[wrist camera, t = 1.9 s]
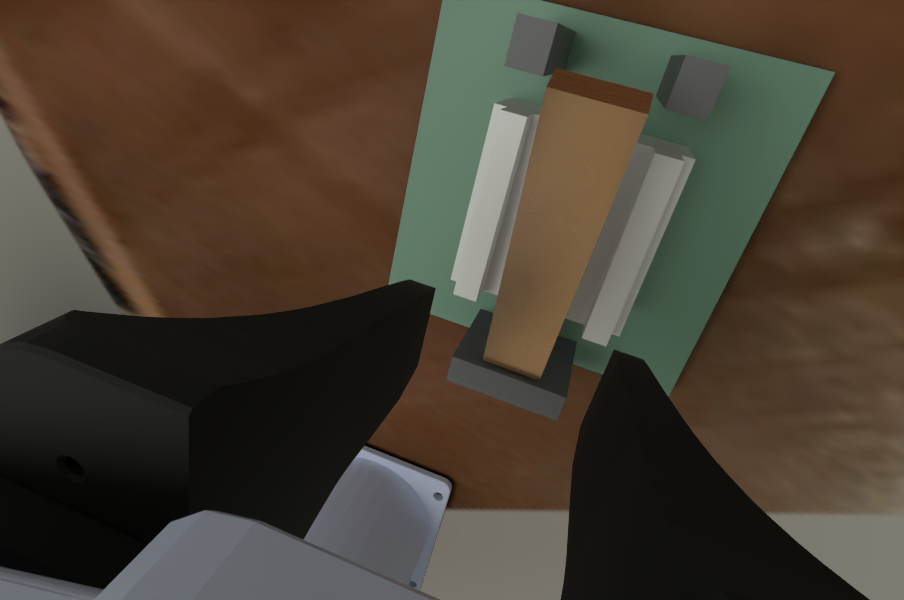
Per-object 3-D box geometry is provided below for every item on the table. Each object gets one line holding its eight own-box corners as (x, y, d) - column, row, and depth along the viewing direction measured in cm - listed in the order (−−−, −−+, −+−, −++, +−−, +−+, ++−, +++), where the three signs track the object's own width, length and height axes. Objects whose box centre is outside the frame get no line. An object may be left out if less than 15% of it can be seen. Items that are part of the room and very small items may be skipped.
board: (666, 384, 22) (678, 486, 17) (394, 289, 24) (328, 354, 19) (824, 71, 17) (914, 78, 11) (455, -19, 18) (386, -49, 13)
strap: (545, 361, 19) (539, 380, 18) (490, 341, 19) (482, 360, 18) (653, 93, 11) (648, 114, 10) (556, 67, 11) (546, 86, 11)
